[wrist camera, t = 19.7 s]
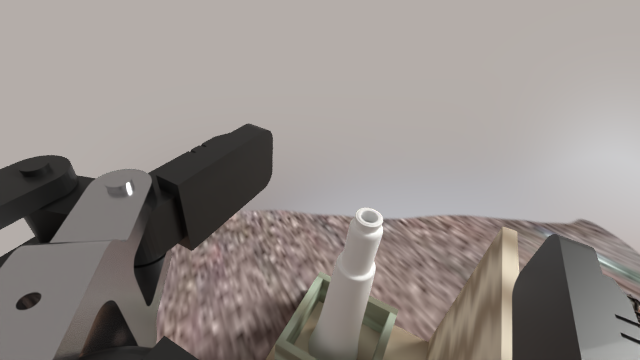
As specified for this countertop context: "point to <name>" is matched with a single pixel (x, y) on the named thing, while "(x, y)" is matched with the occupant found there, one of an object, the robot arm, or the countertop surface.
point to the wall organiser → (451, 335)
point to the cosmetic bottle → (348, 291)
